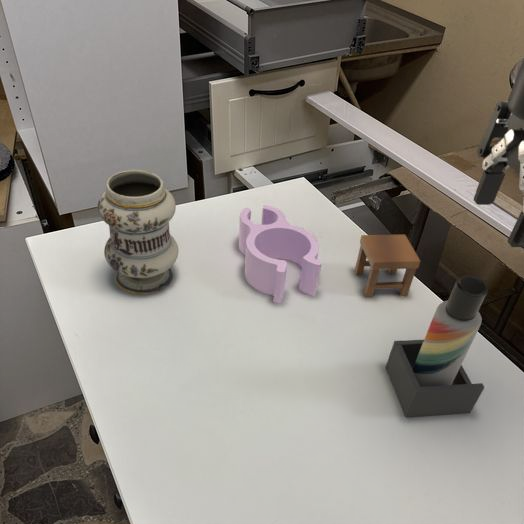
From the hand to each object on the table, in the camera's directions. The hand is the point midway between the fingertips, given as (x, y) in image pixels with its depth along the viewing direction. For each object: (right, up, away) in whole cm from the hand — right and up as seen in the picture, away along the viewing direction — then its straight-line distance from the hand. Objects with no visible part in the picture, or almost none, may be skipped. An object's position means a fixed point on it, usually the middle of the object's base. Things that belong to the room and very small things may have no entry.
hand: (498, 223), depth 57 cm
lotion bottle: (-2, -20, +20) cm, 28 cm away
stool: (-5, -2, +37) cm, 38 cm away
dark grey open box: (-2, -20, +20) cm, 28 cm away
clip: (-24, +1, +39) cm, 46 cm away
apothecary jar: (-46, -1, +34) cm, 58 cm away
